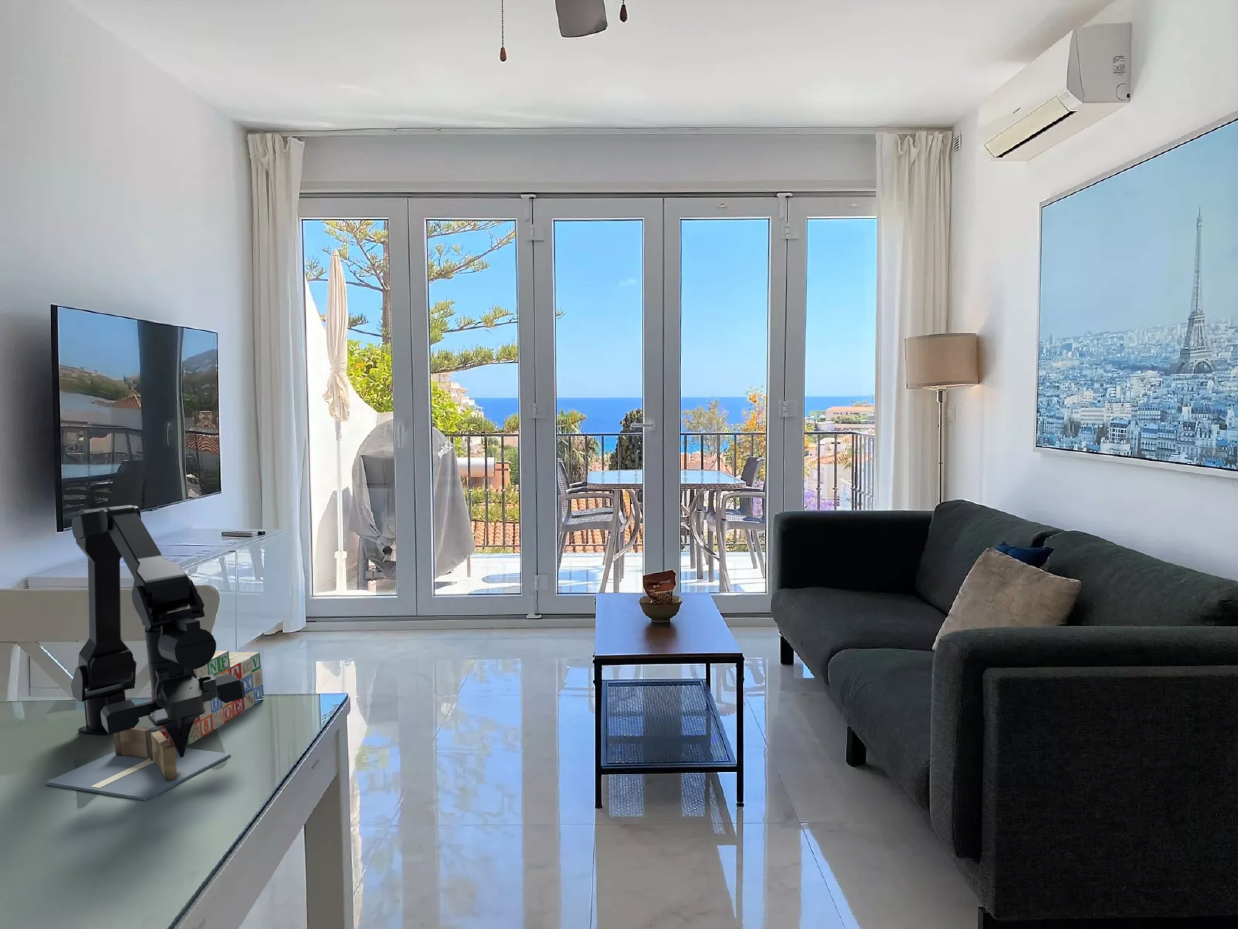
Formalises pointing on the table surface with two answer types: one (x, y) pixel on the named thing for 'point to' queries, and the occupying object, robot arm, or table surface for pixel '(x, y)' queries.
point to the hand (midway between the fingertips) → (181, 756)
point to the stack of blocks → (216, 710)
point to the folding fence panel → (162, 753)
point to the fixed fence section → (132, 742)
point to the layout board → (135, 774)
